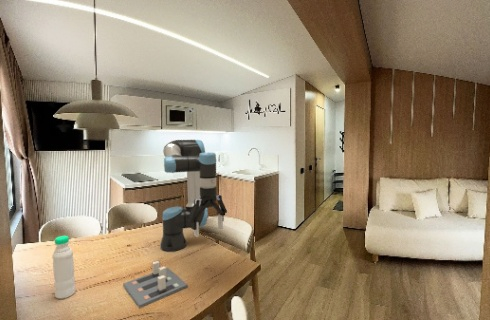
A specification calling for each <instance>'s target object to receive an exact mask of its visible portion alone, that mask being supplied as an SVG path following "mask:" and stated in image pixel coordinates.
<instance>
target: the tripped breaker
mask: <svg viewBox="0 0 490 320" xmlns="http://www.w3.org/2000/svg"><path fill="white" fill-rule="evenodd" d="M157 278H158V289H157V291H158V292H159V293H161V292H164V291H166V280H165V276H164V275H162V276H160V277H157Z"/></svg>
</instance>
